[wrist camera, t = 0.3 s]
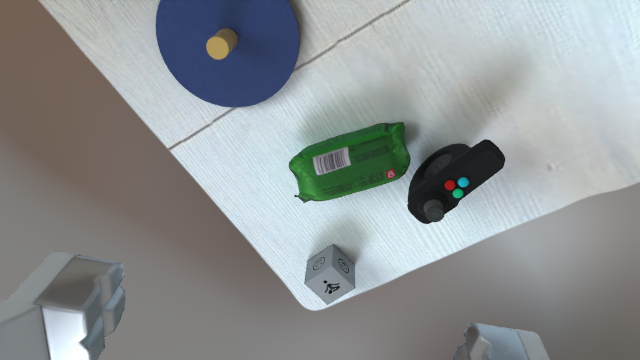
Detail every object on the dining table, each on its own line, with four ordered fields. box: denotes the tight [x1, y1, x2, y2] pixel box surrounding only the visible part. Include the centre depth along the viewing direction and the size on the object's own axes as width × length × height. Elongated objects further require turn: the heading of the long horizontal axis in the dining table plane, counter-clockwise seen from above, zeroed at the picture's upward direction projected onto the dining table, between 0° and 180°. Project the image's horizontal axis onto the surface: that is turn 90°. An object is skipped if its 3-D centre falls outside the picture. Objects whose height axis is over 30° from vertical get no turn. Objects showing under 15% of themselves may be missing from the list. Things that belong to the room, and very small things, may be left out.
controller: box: [407, 139, 505, 224], centre depth 55 cm, size 4×12×10 cm, turn 135°
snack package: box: [289, 122, 411, 203], centre depth 58 cm, size 7×16×5 cm, turn 110°
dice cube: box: [304, 244, 355, 305], centre depth 67 cm, size 5×5×5 cm
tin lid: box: [156, 0, 300, 107], centre depth 51 cm, size 16×16×6 cm
